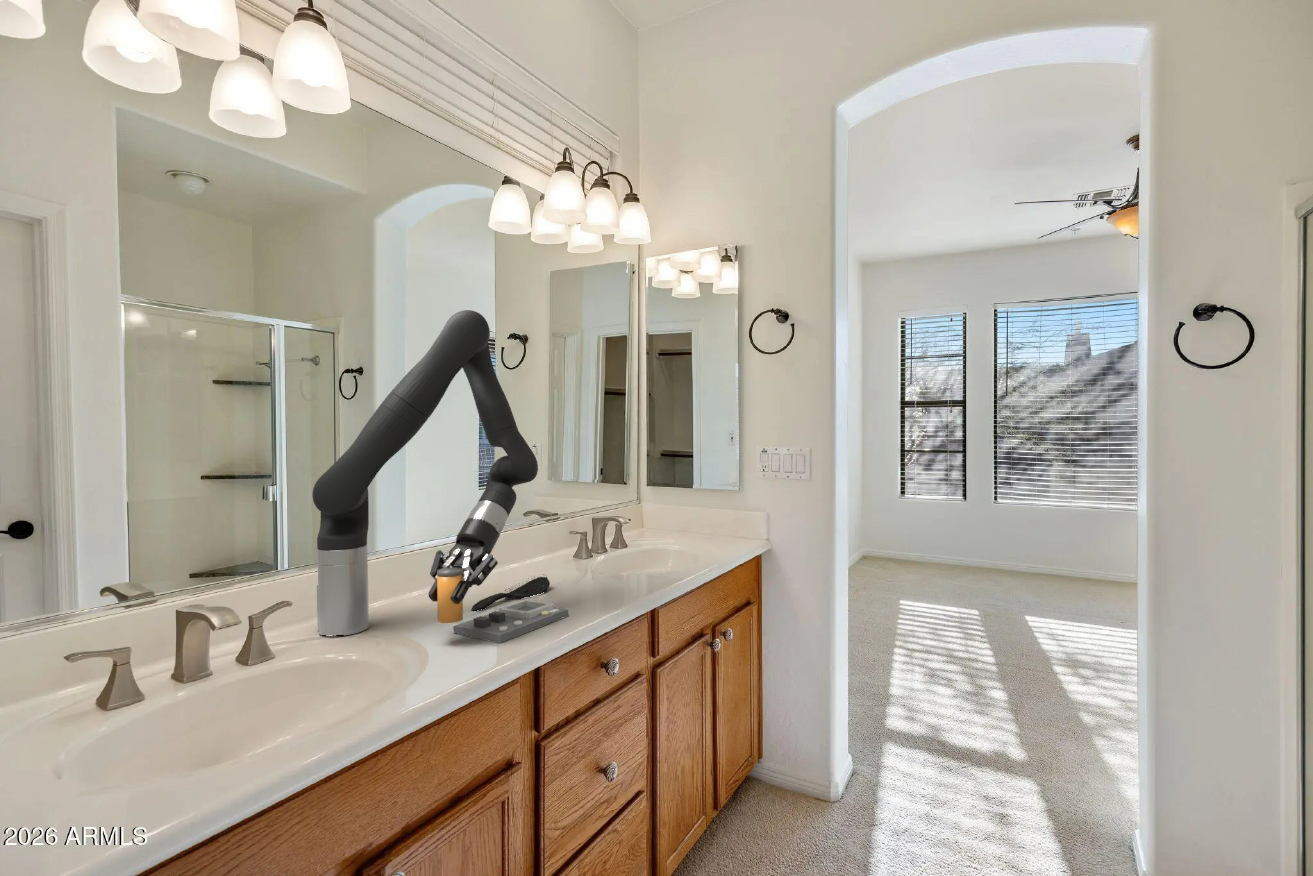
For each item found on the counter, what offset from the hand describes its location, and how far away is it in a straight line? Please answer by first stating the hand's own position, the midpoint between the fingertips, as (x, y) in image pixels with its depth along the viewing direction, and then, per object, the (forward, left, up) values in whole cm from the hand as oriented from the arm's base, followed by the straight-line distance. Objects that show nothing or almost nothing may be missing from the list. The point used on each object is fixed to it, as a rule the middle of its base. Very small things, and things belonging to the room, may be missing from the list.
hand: (443, 600), depth 116 cm
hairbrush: (-14, +32, -9) cm, 36 cm away
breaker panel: (+2, +16, -9) cm, 18 cm away
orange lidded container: (0, +2, -4) cm, 5 cm away
